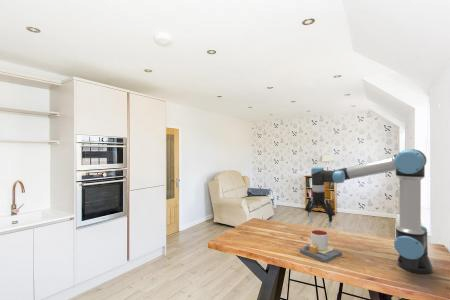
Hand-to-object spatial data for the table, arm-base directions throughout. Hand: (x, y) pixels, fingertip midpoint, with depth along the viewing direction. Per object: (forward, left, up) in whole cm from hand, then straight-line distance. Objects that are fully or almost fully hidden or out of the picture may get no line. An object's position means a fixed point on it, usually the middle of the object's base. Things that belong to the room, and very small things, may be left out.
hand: (319, 224), depth 156 cm
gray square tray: (-2, +3, -18) cm, 18 cm away
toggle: (-1, +9, -16) cm, 18 cm away
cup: (+1, 0, -16) cm, 16 cm away
